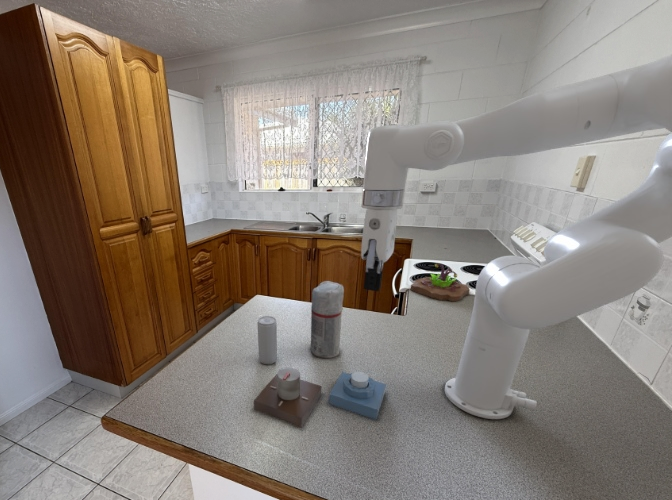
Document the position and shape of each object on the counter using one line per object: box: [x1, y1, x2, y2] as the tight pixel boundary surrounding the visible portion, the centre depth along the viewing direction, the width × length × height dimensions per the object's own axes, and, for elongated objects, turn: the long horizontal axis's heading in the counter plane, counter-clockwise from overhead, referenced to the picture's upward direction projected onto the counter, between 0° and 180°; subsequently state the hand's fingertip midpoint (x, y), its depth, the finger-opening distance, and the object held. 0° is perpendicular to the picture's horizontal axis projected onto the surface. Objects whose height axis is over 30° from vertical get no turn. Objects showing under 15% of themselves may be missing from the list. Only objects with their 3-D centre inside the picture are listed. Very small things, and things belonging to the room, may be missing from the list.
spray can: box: [310, 280, 345, 359], centre depth 83 cm, size 8×8×20 cm
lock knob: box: [276, 366, 301, 400], centre depth 66 cm, size 5×5×5 cm
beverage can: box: [256, 315, 278, 365], centre depth 81 cm, size 5×5×12 cm
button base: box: [328, 371, 387, 421], centre depth 68 cm, size 10×9×4 cm
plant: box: [410, 263, 471, 302], centre depth 124 cm, size 20×20×11 cm
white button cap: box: [351, 371, 369, 389], centre depth 67 cm, size 4×4×2 cm
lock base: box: [253, 373, 323, 429], centre depth 68 cm, size 11×11×3 cm
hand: (372, 288), depth 67 cm, fingers closed
